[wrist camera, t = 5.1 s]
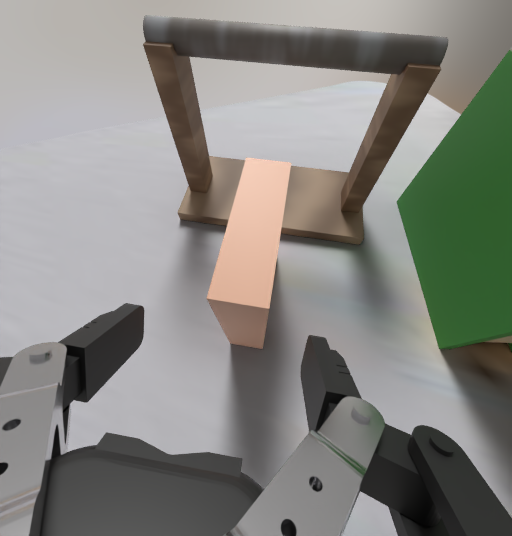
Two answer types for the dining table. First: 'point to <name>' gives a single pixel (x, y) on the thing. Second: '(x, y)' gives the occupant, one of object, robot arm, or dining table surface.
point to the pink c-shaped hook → (250, 253)
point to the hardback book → (467, 221)
